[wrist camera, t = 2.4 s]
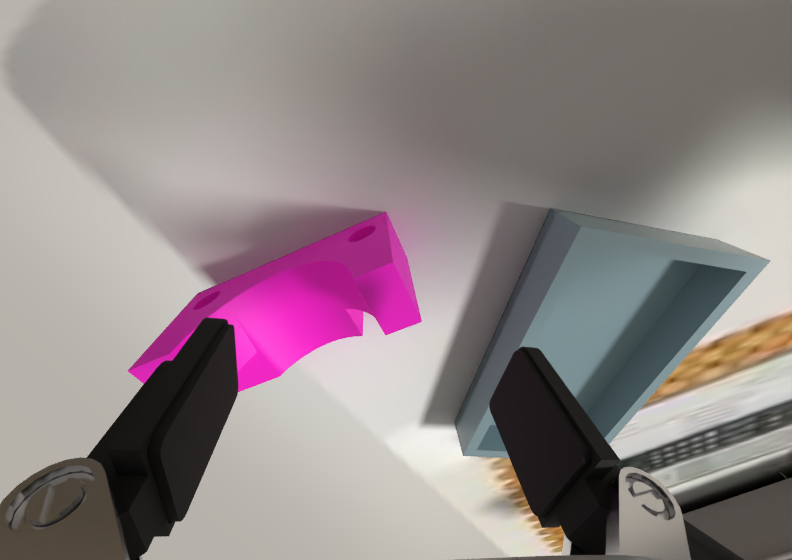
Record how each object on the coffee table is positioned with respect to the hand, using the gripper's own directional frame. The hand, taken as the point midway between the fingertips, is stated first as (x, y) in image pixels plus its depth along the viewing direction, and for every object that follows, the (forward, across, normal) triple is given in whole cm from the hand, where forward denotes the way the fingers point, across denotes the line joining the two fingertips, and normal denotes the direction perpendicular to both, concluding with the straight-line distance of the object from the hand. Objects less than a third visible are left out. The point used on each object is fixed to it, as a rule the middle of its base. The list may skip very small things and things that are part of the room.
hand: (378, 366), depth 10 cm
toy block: (+13, +4, +5) cm, 14 cm away
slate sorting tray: (+12, -19, +8) cm, 23 cm away
